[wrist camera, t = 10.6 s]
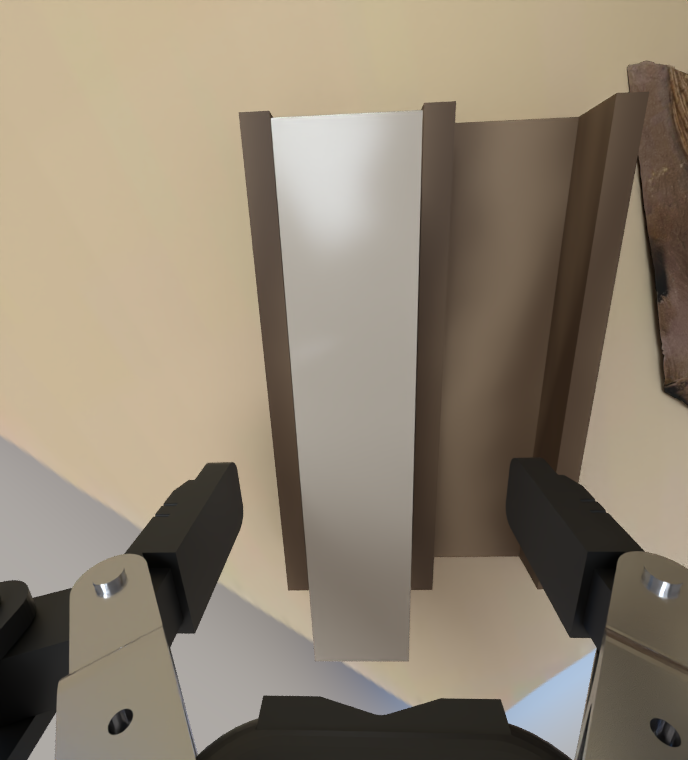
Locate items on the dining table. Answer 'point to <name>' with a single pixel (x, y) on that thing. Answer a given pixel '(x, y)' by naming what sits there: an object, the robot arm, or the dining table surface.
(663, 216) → the wooden fragment
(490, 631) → the dining table surface
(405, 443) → the gray rectangular block
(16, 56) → the dining table surface
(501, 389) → the rack
